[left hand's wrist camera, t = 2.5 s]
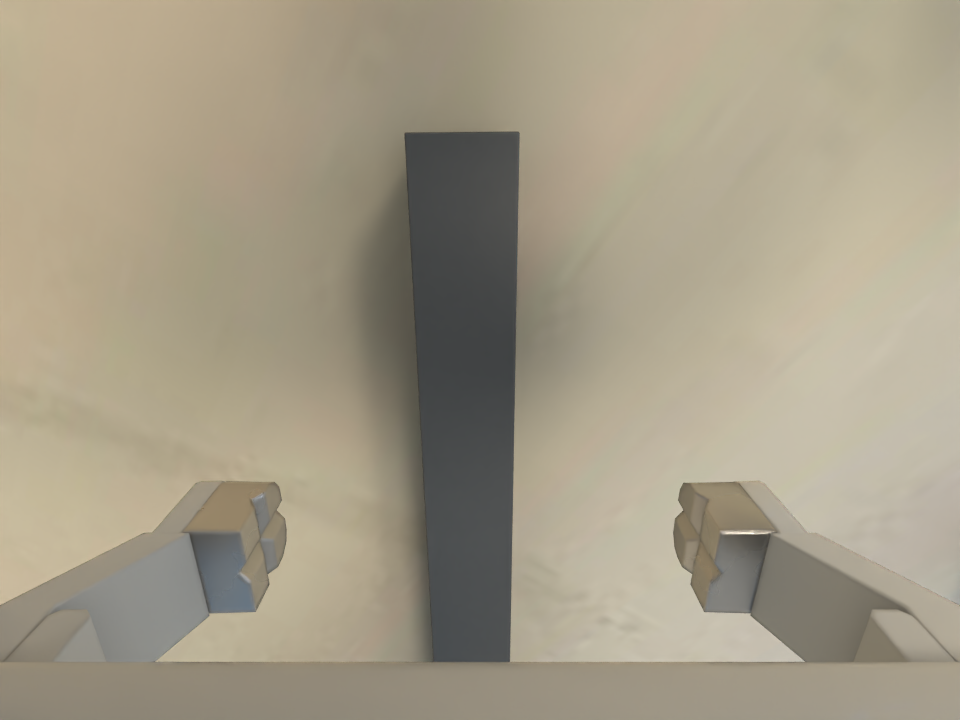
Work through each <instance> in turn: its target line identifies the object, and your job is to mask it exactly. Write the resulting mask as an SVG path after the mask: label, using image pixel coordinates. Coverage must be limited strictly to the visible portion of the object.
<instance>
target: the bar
mask: <svg viewBox="0 0 960 720" xmlns="http://www.w3.org/2000/svg"><path fill="white" fill-rule="evenodd" d="M405 150H406V169H407V187H408V205H409V223H410V242H411V260H412V278H413V296H414V314H415V333H416V351H417V369H418V387H419V406H420V424H421V442H422V460H423V478H424V497H425V515H426V533H427V551H428V570H429V588H430V606H431V624H432V642H433V661H434V662H510V626H511V571H512V516H513V461H514V405H515V350H516V295H517V240H518V184H519V132H421V133H405Z"/></svg>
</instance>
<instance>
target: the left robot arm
mask: <svg viewBox="0 0 960 720" xmlns="http://www.w3.org/2000/svg"><path fill="white" fill-rule="evenodd" d="M281 501H282V499H281V494H280V489H279V486H278V485H277V484H276V483H275V482H239V481H226V482H224V481H201V482H198V483H195V484H194V486H193V487H192V488H191V489H190V490H189V491H188V492H187V494H186V495H185V496H184V497H183V498H182V499H181V500H180V502H179V503H178V504H177V505H176V506H175V507H174V508H173V510H172V511H171V512H170V513H169V514H168V515H167V516H166V518H165V519H164V520H163V521H162V522H161V523H160V524H159V526H158V527H157V528H156V529H155V530H154V531H153V532H152V533H143V534H141V535H139V536H137V537H135V538H133V539H131V540H129V541H127V542H125V543H123V544H121V545H119V546H117V547H115V548H113V549H111V550H109V551H107V552H105V553H103V554H101V555H99V556H97V557H95V558H93V559H91V560H89V561H87V562H85V563H83V564H81V565H79V566H77V567H75V568H73V569H71V570H69V571H67V572H65V573H63V574H61V575H59V576H57V577H55V578H53V579H51V580H49V581H47V582H45V583H43V584H41V585H39V586H38V587H36V588H34V589H32V590H30V591H28V592H26V593H24V594H22V595H20V596H18V597H16V598H14V599H12V600H10V601H8V602H6V603H4V604H2V605H0V720H960V605H958V604H956V603H954V602H952V601H950V600H948V599H946V598H944V597H942V596H940V595H938V594H936V593H934V592H932V591H930V590H928V589H926V588H924V587H922V586H920V585H918V584H916V583H914V582H912V581H910V580H908V579H906V578H904V577H902V576H900V575H898V574H896V573H894V572H892V571H890V570H888V569H886V568H885V567H883V566H881V565H879V564H877V563H875V562H873V561H871V560H869V559H867V558H865V557H863V556H861V555H859V554H857V553H855V552H853V551H851V550H849V549H847V548H845V547H843V546H841V545H839V544H837V543H835V542H833V541H831V540H829V539H827V538H825V537H823V536H821V535H819V534H817V533H808V532H807V531H806V530H805V529H804V528H803V527H802V526H801V524H800V523H799V522H798V521H797V520H796V519H795V518H794V516H793V515H792V514H791V513H790V512H789V511H788V510H787V508H786V507H785V506H784V505H783V504H782V503H781V502H780V500H779V499H778V498H777V497H776V496H775V495H774V494H773V492H772V491H771V490H770V489H769V488H768V487H767V486H766V484H764V483H762V482H760V481H738V482H711V483H683V485H682V487H681V489H680V493H679V498H678V501H679V503H680V504H681V506H682V508H683V511H682V512H681V513H680V514H679V515H678V516H677V517H676V518H675V524H674V531H673V535H674V547H675V550H676V554H677V557H678V559H679V561H680V564H681V566H682V567H683V568H684V569H686V570H687V571H689V572H690V573H691V574H692V579H691V586H692V588H693V590H694V592H695V594H696V596H697V598H698V600H699V602H700V604H701V606H702V608H703V610H704V612H724V613H751V616H752V617H753V618H754V619H755V620H757V621H758V622H759V623H760V624H761V625H762V626H764V627H765V628H766V629H767V630H768V631H770V632H771V633H772V634H773V635H774V636H776V637H777V638H778V639H779V640H780V641H781V642H783V643H784V644H785V645H786V646H787V647H789V648H790V649H791V650H792V651H793V652H794V653H796V654H797V655H798V656H799V657H800V658H802V659H803V660H804V661H805V662H155V661H156V660H157V659H159V658H160V657H161V656H162V655H163V654H164V653H166V652H167V651H168V650H169V649H170V648H172V647H173V646H174V645H175V644H176V643H178V642H179V641H180V640H181V639H182V638H183V637H185V636H186V635H187V634H188V633H189V632H191V631H192V630H193V629H194V628H195V627H197V626H198V625H199V624H200V623H201V622H203V621H204V620H205V619H206V618H207V617H208V616H209V613H235V612H256V610H257V608H258V606H259V604H260V602H261V600H262V598H263V596H264V594H265V592H266V590H267V588H268V586H269V579H268V574H269V573H270V572H271V571H273V570H274V569H276V568H277V567H278V566H279V564H280V561H281V559H282V557H283V554H284V549H285V545H286V523H285V518H284V517H283V516H282V515H281V514H280V513H279V512H278V511H277V508H278V506H279V504H280V503H281Z"/></svg>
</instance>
